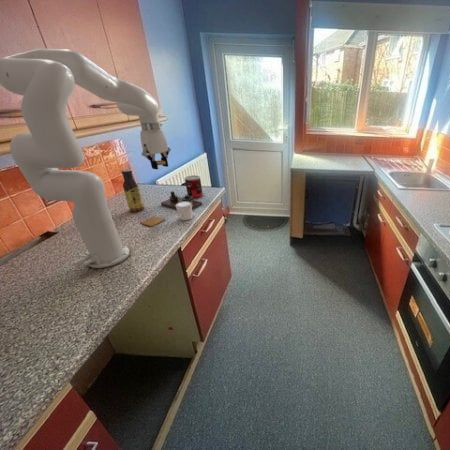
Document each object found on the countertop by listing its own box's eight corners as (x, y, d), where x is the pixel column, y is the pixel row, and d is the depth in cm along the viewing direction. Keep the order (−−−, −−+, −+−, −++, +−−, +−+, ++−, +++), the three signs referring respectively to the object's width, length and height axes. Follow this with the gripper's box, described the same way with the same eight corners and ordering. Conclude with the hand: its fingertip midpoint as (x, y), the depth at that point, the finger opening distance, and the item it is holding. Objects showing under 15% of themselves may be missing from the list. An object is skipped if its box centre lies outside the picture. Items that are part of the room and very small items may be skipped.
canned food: (187, 194, 144) (184, 176, 139) (202, 192, 147) (199, 174, 142) (188, 199, 138) (184, 180, 133) (203, 197, 141) (200, 178, 136)
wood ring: (187, 202, 125) (187, 200, 124) (180, 200, 126) (179, 198, 126) (195, 198, 129) (194, 196, 128) (187, 197, 130) (187, 195, 130)
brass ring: (159, 165, 115) (158, 163, 114) (151, 164, 116) (150, 162, 116) (167, 163, 119) (167, 161, 118) (160, 162, 120) (159, 159, 120)
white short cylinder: (183, 222, 114) (180, 208, 111) (175, 217, 118) (172, 204, 115) (196, 217, 119) (194, 203, 116) (188, 213, 123) (186, 200, 120)
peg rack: (187, 211, 124) (185, 199, 121) (161, 205, 130) (158, 193, 127) (202, 204, 132) (200, 193, 129) (176, 198, 138) (174, 187, 135)
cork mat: (151, 226, 110) (151, 225, 110) (140, 223, 112) (140, 222, 112) (164, 220, 115) (164, 219, 115) (153, 217, 118) (153, 216, 118)
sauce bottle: (137, 212, 121) (125, 173, 112) (126, 211, 122) (113, 171, 113) (147, 207, 127) (136, 169, 118) (137, 206, 128) (125, 168, 119)
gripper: (161, 124, 118) (169, 162, 126) (126, 128, 104) (138, 170, 113) (173, 125, 115) (180, 164, 124) (139, 129, 102) (150, 173, 110)
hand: (160, 167), depth 118 cm, fingers closed on brass ring, 5 cm apart
